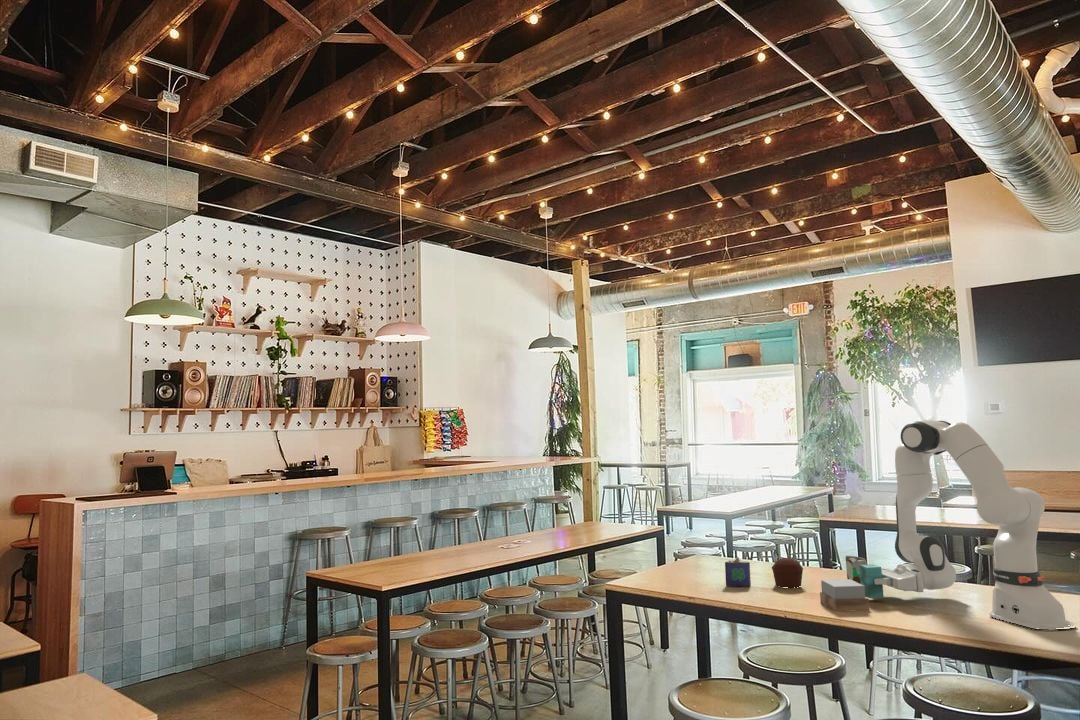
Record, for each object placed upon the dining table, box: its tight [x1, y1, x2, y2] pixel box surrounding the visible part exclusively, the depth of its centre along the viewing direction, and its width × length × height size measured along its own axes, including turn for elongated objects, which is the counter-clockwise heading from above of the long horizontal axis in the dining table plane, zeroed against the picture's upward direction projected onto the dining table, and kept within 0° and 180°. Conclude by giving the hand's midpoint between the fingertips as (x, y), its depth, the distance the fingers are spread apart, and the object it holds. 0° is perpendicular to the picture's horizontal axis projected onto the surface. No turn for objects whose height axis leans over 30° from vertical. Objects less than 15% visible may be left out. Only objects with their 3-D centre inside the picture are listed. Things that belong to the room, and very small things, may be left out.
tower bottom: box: [819, 591, 870, 612], centre depth 236 cm, size 11×11×4 cm
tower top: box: [820, 578, 865, 599], centre depth 236 cm, size 10×10×4 cm
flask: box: [724, 556, 752, 588], centre depth 267 cm, size 9×3×11 cm, turn 88°
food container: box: [845, 555, 868, 584], centre depth 263 cm, size 12×6×10 cm, turn 168°
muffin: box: [771, 557, 804, 589], centre depth 266 cm, size 12×11×10 cm
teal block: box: [859, 563, 884, 599], centre depth 243 cm, size 5×5×10 cm
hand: (868, 579), depth 243 cm, fingers closed on teal block, 5 cm apart
